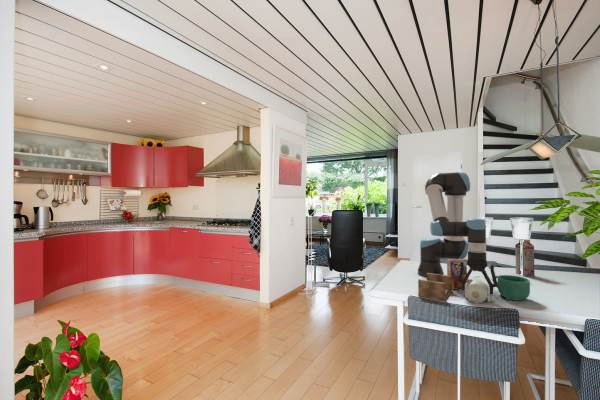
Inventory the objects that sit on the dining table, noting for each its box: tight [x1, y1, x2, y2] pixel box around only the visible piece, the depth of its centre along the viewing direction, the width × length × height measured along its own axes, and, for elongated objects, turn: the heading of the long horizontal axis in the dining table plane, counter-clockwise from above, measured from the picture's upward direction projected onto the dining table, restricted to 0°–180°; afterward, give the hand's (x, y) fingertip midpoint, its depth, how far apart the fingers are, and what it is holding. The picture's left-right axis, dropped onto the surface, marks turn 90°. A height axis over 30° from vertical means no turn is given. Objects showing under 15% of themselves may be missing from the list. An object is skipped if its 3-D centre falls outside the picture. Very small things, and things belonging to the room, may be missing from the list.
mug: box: [491, 274, 531, 301], centre depth 142 cm, size 17×13×10 cm
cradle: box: [417, 273, 453, 302], centre depth 148 cm, size 12×18×8 cm, turn 143°
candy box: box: [446, 258, 468, 290], centre depth 157 cm, size 9×4×15 cm, turn 89°
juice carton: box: [514, 239, 535, 277], centre depth 184 cm, size 7×7×22 cm
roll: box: [466, 279, 489, 304], centre depth 139 cm, size 12×8×8 cm, turn 143°
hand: (477, 299), depth 138 cm, fingers open, 9 cm apart
